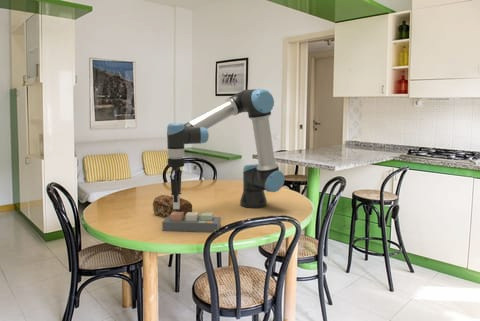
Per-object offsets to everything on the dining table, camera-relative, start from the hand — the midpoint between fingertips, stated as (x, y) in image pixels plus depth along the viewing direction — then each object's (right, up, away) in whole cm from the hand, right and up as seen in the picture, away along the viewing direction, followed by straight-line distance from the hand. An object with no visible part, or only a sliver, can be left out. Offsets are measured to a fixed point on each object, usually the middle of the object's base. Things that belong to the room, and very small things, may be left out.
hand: (176, 208), depth 185 cm
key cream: (+7, -6, 0) cm, 9 cm away
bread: (-5, -6, +21) cm, 22 cm away
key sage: (+14, -6, 0) cm, 15 cm away
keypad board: (+7, -9, +1) cm, 12 cm away
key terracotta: (0, -6, +1) cm, 6 cm away
